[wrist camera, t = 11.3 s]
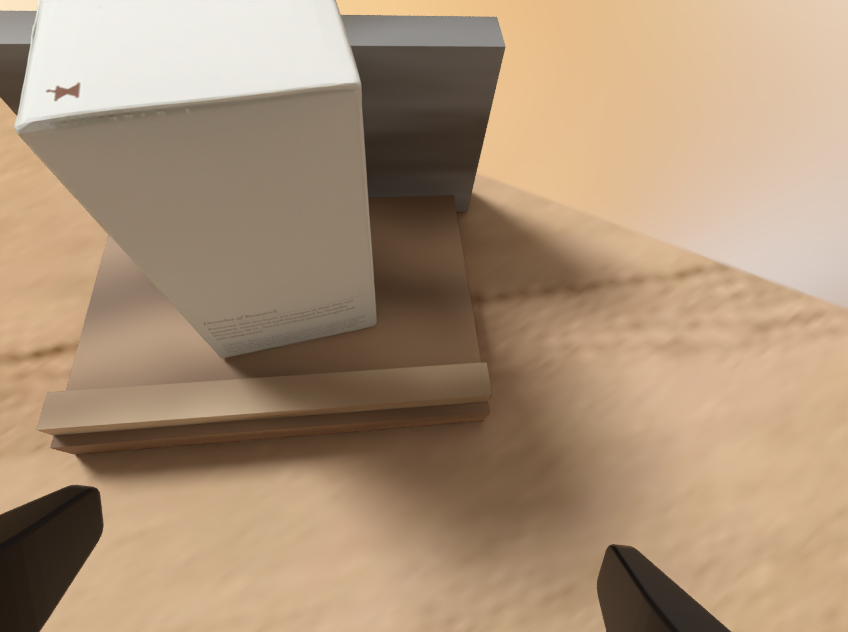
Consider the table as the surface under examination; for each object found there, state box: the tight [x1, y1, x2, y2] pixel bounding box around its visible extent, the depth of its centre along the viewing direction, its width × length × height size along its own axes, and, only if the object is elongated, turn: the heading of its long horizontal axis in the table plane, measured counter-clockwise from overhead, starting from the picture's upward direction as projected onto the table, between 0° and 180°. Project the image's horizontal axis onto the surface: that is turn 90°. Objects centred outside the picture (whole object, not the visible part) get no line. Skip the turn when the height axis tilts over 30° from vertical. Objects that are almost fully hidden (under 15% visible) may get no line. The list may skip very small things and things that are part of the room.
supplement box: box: [15, 0, 376, 358], centre depth 16 cm, size 7×7×13 cm
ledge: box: [0, 11, 505, 454], centre depth 19 cm, size 14×20×10 cm
